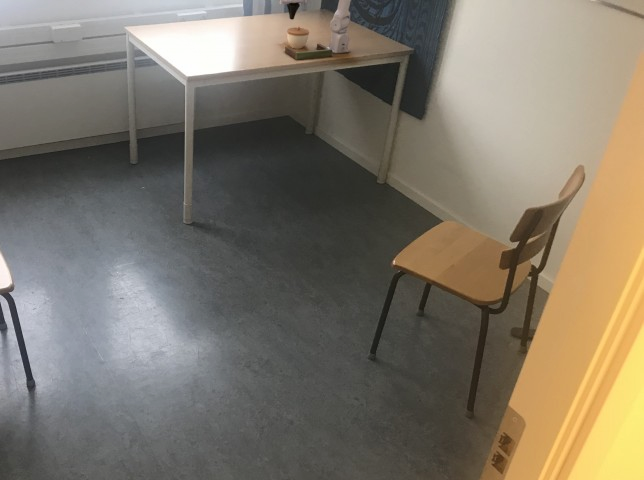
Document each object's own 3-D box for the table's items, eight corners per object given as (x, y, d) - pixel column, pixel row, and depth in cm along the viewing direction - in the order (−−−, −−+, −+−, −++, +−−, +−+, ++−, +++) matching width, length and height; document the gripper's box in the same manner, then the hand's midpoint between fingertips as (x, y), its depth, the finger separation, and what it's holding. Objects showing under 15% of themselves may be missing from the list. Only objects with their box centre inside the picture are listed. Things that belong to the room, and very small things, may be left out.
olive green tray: (331, 56, 338) (332, 49, 336) (296, 59, 332) (297, 53, 330) (319, 48, 347) (319, 42, 345) (284, 52, 341) (285, 45, 340)
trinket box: (293, 42, 354) (295, 22, 348) (311, 46, 349) (313, 26, 343) (281, 47, 348) (283, 27, 342) (299, 51, 343) (302, 31, 337)
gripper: (304, -14, 349) (300, 15, 357) (277, -12, 344) (275, 17, 353) (310, -10, 343) (307, 19, 352) (284, -9, 339) (281, 21, 348)
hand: (291, 19), depth 352 cm, fingers closed
